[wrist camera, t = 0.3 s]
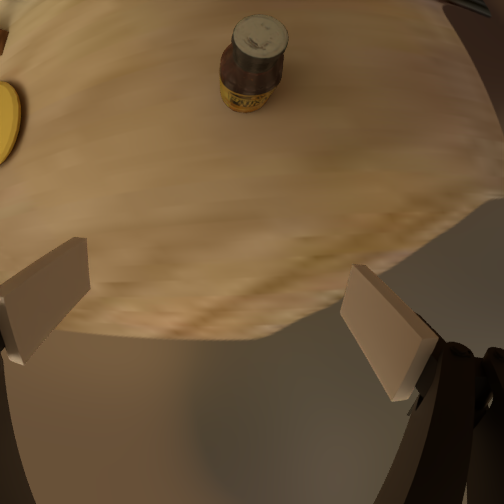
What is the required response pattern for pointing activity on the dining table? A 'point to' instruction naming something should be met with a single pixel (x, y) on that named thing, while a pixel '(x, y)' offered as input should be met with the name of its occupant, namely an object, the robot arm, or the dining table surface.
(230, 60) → the sauce bottle
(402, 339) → the robot arm
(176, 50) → the dining table surface
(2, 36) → the brown tall block
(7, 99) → the yellow curved piece
